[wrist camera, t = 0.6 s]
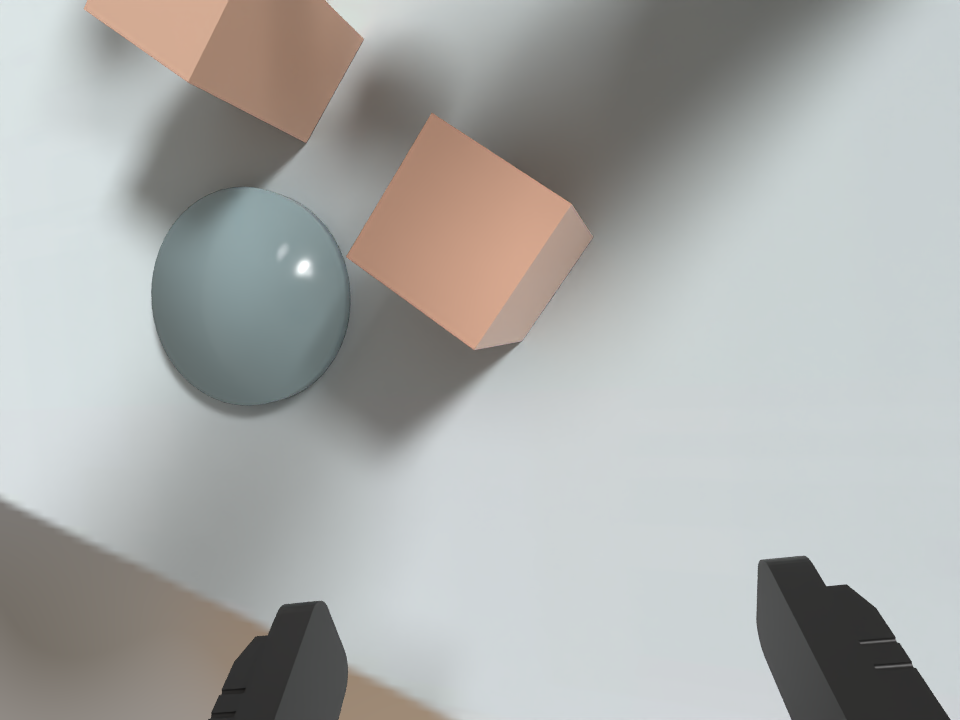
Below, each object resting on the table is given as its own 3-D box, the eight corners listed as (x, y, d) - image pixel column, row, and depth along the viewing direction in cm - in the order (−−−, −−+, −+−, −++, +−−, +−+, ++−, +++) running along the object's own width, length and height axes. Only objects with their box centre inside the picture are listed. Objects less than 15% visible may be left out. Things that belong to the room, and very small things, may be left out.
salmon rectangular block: (491, 170, 31) (431, 112, 22) (593, 236, 30) (571, 203, 21) (426, 273, 32) (345, 256, 24) (521, 341, 31) (473, 350, 23)
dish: (227, 150, 35) (212, 145, 34) (390, 267, 33) (380, 265, 32) (135, 324, 37) (119, 325, 36) (281, 444, 35) (269, 448, 34)
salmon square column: (277, -17, 33) (147, -134, 25) (363, 39, 32) (260, -64, 24) (224, 86, 35) (83, 9, 26) (306, 143, 34) (188, 82, 25)
